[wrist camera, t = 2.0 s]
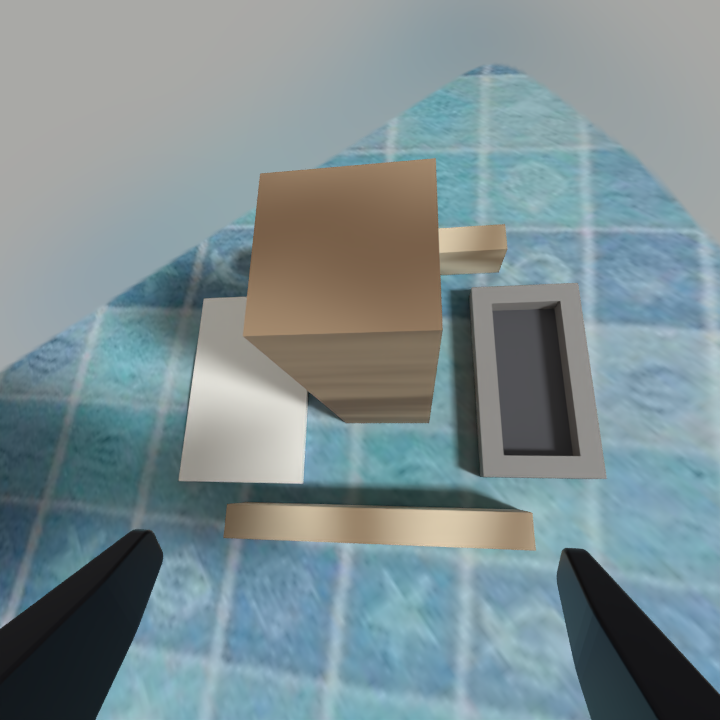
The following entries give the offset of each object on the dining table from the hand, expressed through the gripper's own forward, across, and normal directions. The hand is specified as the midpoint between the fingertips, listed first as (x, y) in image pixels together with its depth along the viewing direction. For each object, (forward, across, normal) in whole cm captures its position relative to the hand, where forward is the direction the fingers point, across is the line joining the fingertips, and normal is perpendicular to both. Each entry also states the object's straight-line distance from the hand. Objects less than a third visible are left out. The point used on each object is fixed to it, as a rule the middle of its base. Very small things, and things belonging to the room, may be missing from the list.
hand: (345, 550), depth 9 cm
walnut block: (+14, 0, +4) cm, 14 cm away
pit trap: (+14, -7, +4) cm, 16 cm away
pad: (+14, +8, +4) cm, 17 cm away
